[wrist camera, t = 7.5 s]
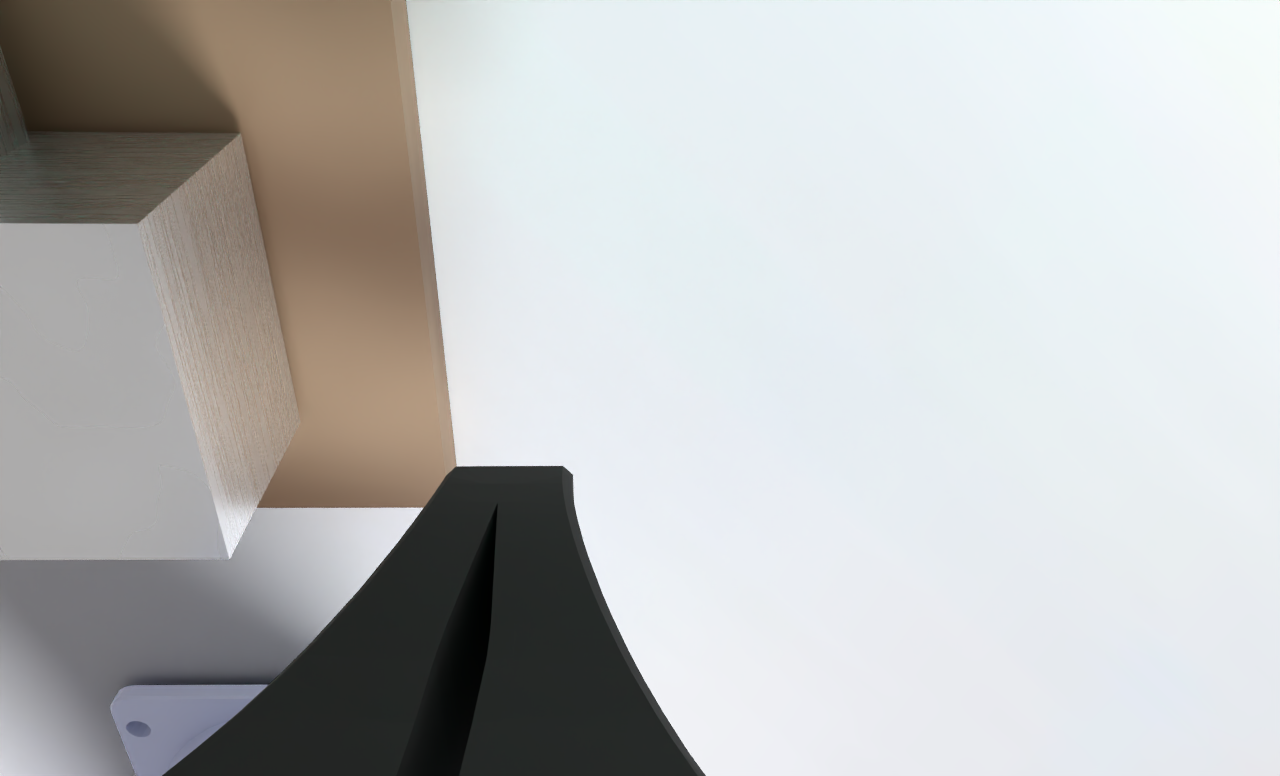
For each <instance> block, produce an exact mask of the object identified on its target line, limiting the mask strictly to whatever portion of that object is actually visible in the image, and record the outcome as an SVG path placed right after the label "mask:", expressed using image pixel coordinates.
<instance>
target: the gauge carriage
mask: <svg viewBox="0 0 1280 776" xmlns="http://www.w3.org/2000/svg"><path fill="white" fill-rule="evenodd" d="M299 424H300V418H299V413H298V408H297V403H296V398H295V393H294V389H293V384H292V379H291V374H290V369H289V364H288V359H287V354H286V350H285V345H284V340H283V335H282V330H281V325H280V320H279V315H278V311H277V306H276V301H275V296H274V291H273V286H272V281H271V276H270V272H269V267H268V262H267V257H266V252H265V247H264V242H263V238H262V233H261V228H260V223H259V218H258V213H257V208H256V203H255V199H254V194H253V189H252V184H251V179H250V174H249V169H248V164H247V160H246V155H245V150H244V145H243V140H242V135H241V133H172V132H28V131H27V128H26V125H25V121H24V118H23V115H22V112H21V109H20V106H19V103H18V100H17V97H16V93H15V90H14V87H13V84H12V81H11V78H10V75H9V72H8V68H7V65H6V62H5V59H4V56H3V53H2V50H1V47H0V560H230V558H231V556H232V554H233V552H234V550H235V548H236V546H237V544H238V542H239V541H240V539H241V537H242V535H243V533H244V531H245V529H246V527H247V525H248V523H249V521H250V519H251V517H252V515H253V513H254V511H255V510H256V508H257V506H258V504H259V502H260V500H261V498H262V496H263V494H264V492H265V490H266V488H267V486H268V484H269V482H270V480H271V479H272V477H273V475H274V473H275V471H276V469H277V467H278V465H279V463H280V461H281V459H282V457H283V455H284V453H285V451H286V450H287V448H288V446H289V444H290V442H291V440H292V438H293V436H294V434H295V432H296V430H297V428H298V426H299Z"/></svg>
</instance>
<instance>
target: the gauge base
mask: <svg viewBox="0 0 1280 776" xmlns="http://www.w3.org/2000/svg"><path fill="white" fill-rule="evenodd" d="M0 47H1V50H2V53H3V56H4V59H5V62H6V65H7V68H8V72H9V75H10V78H11V81H12V84H13V87H14V90H15V93H16V97H17V100H18V103H19V106H20V109H21V112H22V115H23V118H24V121H25V125H26V128H27V131H28V132H172V133H241V135H242V140H243V145H244V150H245V155H246V160H247V164H248V169H249V174H250V179H251V184H252V189H253V194H254V199H255V203H256V208H257V213H258V218H259V223H260V228H261V233H262V238H263V242H264V247H265V252H266V257H267V262H268V267H269V272H270V276H271V281H272V286H273V291H274V296H275V301H276V306H277V311H278V315H279V320H280V325H281V330H282V335H283V340H284V345H285V350H286V354H287V359H288V364H289V369H290V374H291V379H292V384H293V389H294V393H295V398H296V403H297V408H298V413H299V418H300V424H299V426H298V428H297V430H296V432H295V434H294V436H293V438H292V440H291V442H290V444H289V446H288V448H287V450H286V451H285V453H284V455H283V457H282V459H281V461H280V463H279V465H278V467H277V469H276V471H275V473H274V475H273V477H272V479H271V480H270V482H269V484H268V486H267V488H266V490H265V492H264V494H263V496H262V498H261V500H260V502H259V504H258V506H257V508H381V507H425V506H426V504H427V503H428V501H429V500H430V498H431V497H432V496H433V494H434V493H435V491H436V490H437V488H438V487H439V486H440V484H441V483H442V481H443V480H444V478H445V477H446V475H447V474H448V473H449V472H450V471H452V470H453V469H454V468H455V467H456V458H455V449H454V439H453V430H452V421H451V412H450V403H449V393H448V384H447V375H446V366H445V357H444V347H443V338H442V329H441V320H440V311H439V301H438V292H437V283H436V274H435V265H434V255H433V246H432V237H431V228H430V219H429V209H428V200H427V191H426V182H425V173H424V163H423V154H422V145H421V136H420V127H419V117H418V108H417V99H416V90H415V81H414V71H413V62H412V53H411V44H410V35H409V25H408V16H407V7H406V0H0Z"/></svg>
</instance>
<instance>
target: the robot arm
mask: <svg viewBox="0 0 1280 776" xmlns="http://www.w3.org/2000/svg"><path fill="white" fill-rule="evenodd" d="M110 711H111V714H112V717H113V719H114V722H115V724H116V727H117V729H118V732H119V734H120V737H121V739H122V742H123V744H124V747H125V749H126V752H127V754H128V757H129V759H130V762H131V764H132V767H133V769H134V772H135V774H136V776H705V774H704V773H703V771H702V770H701V769H700V767H699V766H698V765H697V763H696V762H695V761H694V759H693V758H692V756H691V755H690V754H689V752H688V751H687V749H686V748H685V746H684V744H683V743H682V741H681V740H680V738H679V737H678V735H677V734H676V732H675V730H674V729H673V727H672V726H671V724H670V723H669V721H668V719H667V718H666V716H665V715H664V713H663V712H662V710H661V708H660V706H659V705H658V703H657V701H656V700H655V698H654V696H653V695H652V693H651V691H650V689H649V688H648V686H647V684H646V683H645V681H644V679H643V677H642V675H641V673H640V672H639V670H638V668H637V666H636V664H635V662H634V660H633V658H632V656H631V655H630V653H629V651H628V649H627V647H626V645H625V643H624V640H623V638H622V636H621V634H620V632H619V630H618V628H617V626H616V624H615V622H614V619H613V617H612V615H611V613H610V611H609V608H608V606H607V604H606V601H605V599H604V597H603V594H602V592H601V589H600V586H599V584H598V581H597V578H596V576H595V573H594V571H593V568H592V565H591V563H590V560H589V557H588V554H587V551H586V548H585V545H584V542H583V539H582V535H581V531H580V527H579V524H578V520H577V516H576V511H575V506H574V496H573V475H572V474H571V473H570V472H569V471H568V470H567V469H566V468H565V467H563V466H470V467H455V468H454V469H453V470H452V471H450V472H449V473H448V474H447V475H446V477H445V478H444V480H443V481H442V483H441V484H440V486H439V487H438V488H437V490H436V491H435V493H434V494H433V496H432V497H431V498H430V500H429V501H428V503H427V504H426V506H425V507H424V508H423V510H422V511H421V512H420V514H419V515H418V517H417V518H416V519H415V521H414V522H413V523H412V525H411V526H410V527H409V529H408V530H407V531H406V532H405V534H404V535H403V536H402V538H401V539H400V540H399V542H398V543H397V544H396V545H395V547H394V548H393V549H392V550H391V552H390V553H389V554H388V555H387V557H386V558H385V559H384V560H383V561H382V563H381V564H380V565H379V566H378V568H377V569H376V570H375V571H374V573H373V574H372V575H371V576H370V578H369V579H368V580H367V581H366V582H365V584H364V585H363V586H362V587H361V588H360V590H359V591H358V592H357V593H356V594H355V595H354V596H353V598H352V599H351V600H350V601H349V602H348V603H347V604H346V605H345V606H344V607H343V608H342V610H341V611H340V612H339V613H338V614H337V615H336V616H335V617H334V618H333V619H332V621H331V622H330V623H329V624H328V625H327V626H326V627H325V628H324V629H323V630H322V631H321V633H320V634H319V635H318V636H317V637H316V638H315V639H314V640H313V641H312V642H311V643H310V644H309V645H308V647H307V648H306V649H305V650H304V651H303V652H302V653H301V654H300V655H299V656H298V657H297V658H296V659H295V660H294V661H293V662H292V663H291V664H290V665H289V666H288V667H287V668H286V669H285V670H284V671H283V672H281V673H280V674H279V675H278V676H277V677H276V678H275V679H274V680H273V681H272V682H271V683H270V684H269V685H132V686H126V687H124V688H122V689H120V690H119V691H118V693H117V694H116V696H115V698H114V700H113V702H112V703H111V705H110Z"/></svg>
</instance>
